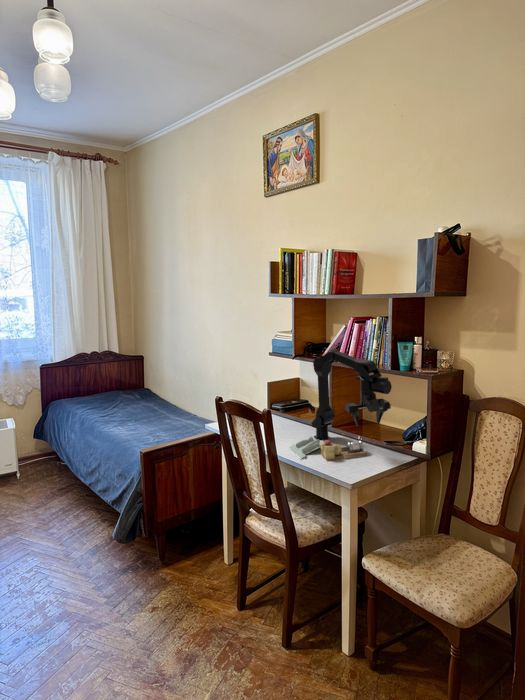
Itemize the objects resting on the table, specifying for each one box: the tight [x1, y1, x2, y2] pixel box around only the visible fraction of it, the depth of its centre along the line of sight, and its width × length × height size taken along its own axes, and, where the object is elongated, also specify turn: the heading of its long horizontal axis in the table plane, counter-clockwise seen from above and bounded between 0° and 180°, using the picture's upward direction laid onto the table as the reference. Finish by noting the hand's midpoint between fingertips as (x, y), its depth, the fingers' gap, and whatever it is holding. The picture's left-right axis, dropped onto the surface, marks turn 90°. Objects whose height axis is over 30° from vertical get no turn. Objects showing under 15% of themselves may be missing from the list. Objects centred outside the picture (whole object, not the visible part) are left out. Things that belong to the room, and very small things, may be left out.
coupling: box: [345, 439, 365, 454], centre depth 206 cm, size 5×6×5 cm
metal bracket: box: [288, 436, 322, 459], centre depth 212 cm, size 14×6×15 cm
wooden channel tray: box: [319, 439, 368, 463], centre depth 204 cm, size 10×18×7 cm, turn 103°
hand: (368, 425), depth 204 cm, fingers open, 9 cm apart
